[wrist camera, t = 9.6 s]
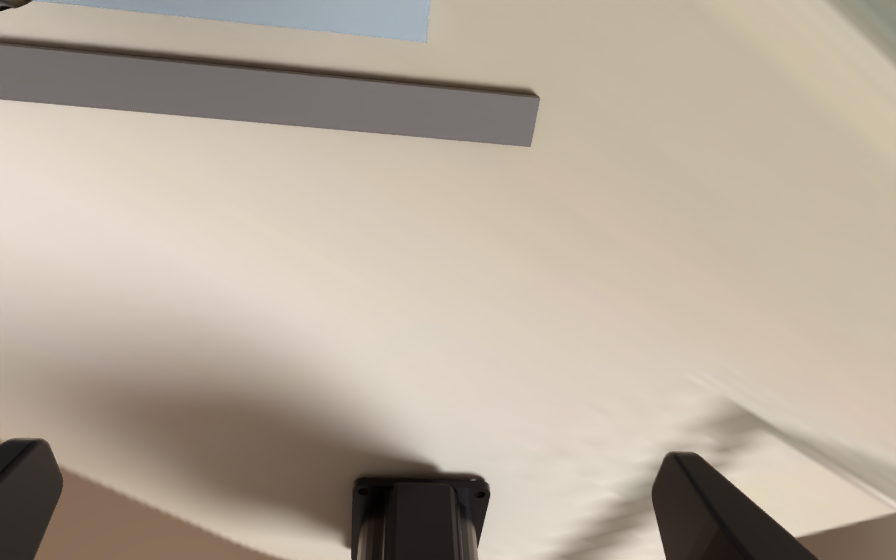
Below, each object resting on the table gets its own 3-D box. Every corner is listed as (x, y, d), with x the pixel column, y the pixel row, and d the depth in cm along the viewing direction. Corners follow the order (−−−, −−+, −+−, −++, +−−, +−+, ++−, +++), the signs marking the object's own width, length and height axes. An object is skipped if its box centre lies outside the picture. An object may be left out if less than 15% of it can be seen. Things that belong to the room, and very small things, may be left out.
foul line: (528, 143, 18) (530, 147, 17) (-244, 74, 15) (-255, 76, 15) (538, 95, 17) (539, 98, 16) (-277, 15, 15) (-288, 16, 14)
